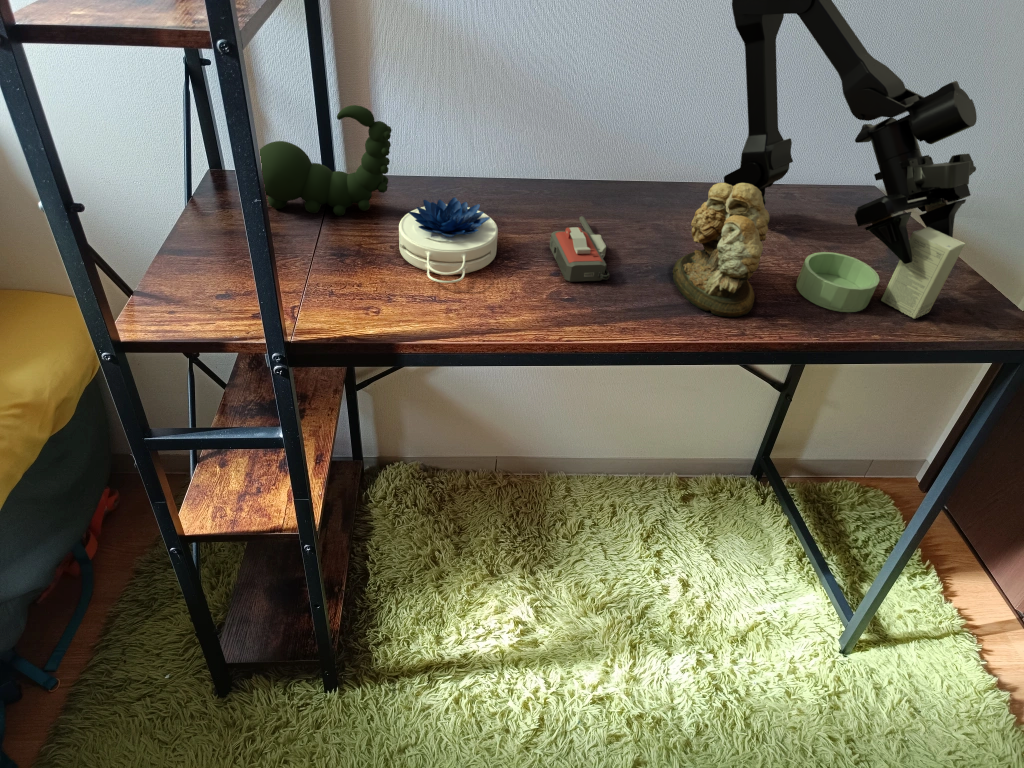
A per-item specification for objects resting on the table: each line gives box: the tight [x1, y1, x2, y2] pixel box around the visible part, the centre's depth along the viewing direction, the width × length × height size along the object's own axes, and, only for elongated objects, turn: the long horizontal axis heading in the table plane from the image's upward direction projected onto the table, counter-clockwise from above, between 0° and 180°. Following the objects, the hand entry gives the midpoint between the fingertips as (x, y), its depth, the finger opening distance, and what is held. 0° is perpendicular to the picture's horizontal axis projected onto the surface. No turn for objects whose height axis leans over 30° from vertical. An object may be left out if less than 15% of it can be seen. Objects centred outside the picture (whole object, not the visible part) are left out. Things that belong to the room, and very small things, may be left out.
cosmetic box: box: [880, 226, 966, 320], centre depth 106 cm, size 6×4×12 cm
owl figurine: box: [672, 182, 770, 318], centre depth 104 cm, size 18×12×17 cm, turn 11°
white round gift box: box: [398, 197, 499, 284], centre depth 108 cm, size 7×16×20 cm
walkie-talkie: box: [549, 215, 611, 283], centre depth 113 cm, size 9×4×20 cm
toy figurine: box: [259, 104, 393, 217], centre depth 114 cm, size 9×19×25 cm
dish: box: [795, 251, 880, 313], centre depth 110 cm, size 11×11×4 cm
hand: (928, 257), depth 104 cm, fingers open, 9 cm apart
